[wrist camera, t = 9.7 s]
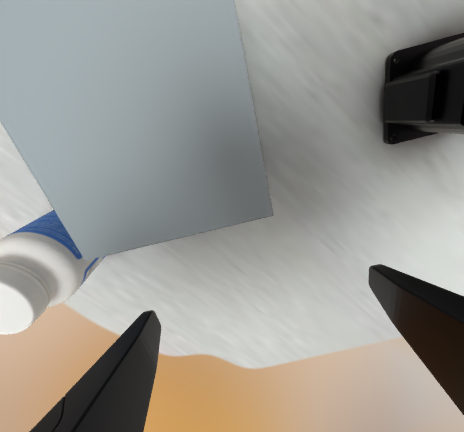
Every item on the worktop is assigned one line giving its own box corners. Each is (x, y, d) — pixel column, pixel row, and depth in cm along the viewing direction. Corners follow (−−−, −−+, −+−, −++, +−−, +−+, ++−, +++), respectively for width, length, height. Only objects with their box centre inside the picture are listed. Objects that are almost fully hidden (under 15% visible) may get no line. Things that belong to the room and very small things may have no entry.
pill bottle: (50, 198, 19) (-97, 265, 10) (113, 196, 20) (22, 260, 11) (70, 252, 21) (-38, 346, 13) (126, 249, 22) (60, 340, 13)
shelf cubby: (219, 17, 15) (219, -82, 8) (253, 180, 20) (273, 215, 12) (68, 61, 16) (-69, 8, 8) (134, 209, 20) (84, 260, 13)
